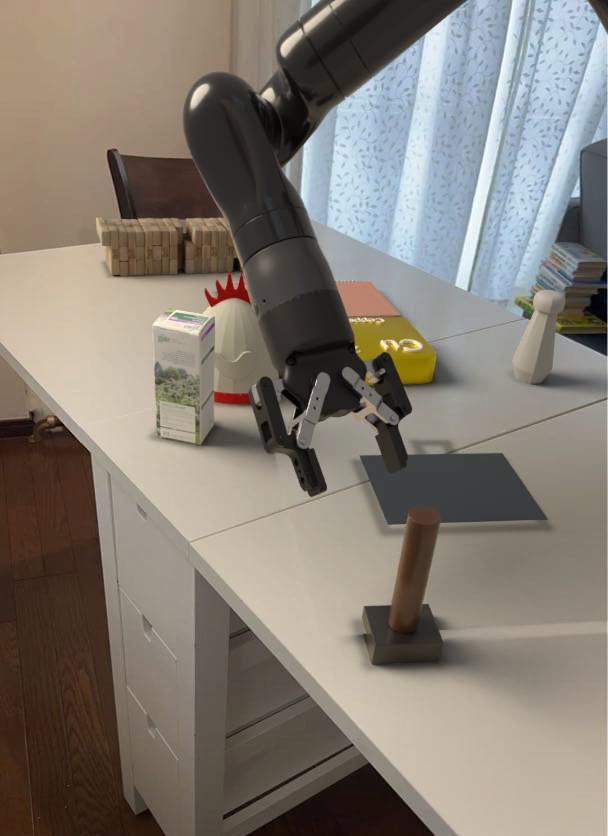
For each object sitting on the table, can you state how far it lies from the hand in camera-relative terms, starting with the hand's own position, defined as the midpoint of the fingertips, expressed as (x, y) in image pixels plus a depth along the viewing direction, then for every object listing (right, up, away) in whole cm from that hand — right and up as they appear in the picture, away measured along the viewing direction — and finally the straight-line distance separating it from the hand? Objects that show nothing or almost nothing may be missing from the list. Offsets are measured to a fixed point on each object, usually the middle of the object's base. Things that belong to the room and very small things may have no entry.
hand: (360, 482), depth 69 cm
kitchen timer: (-15, +17, +41) cm, 47 cm away
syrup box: (-19, +8, +29) cm, 36 cm away
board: (+12, 0, +22) cm, 25 cm away
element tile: (+5, +21, +50) cm, 54 cm away
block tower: (-27, +45, +77) cm, 93 cm away
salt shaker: (+28, +19, +50) cm, 60 cm away
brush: (+4, -14, +2) cm, 15 cm away
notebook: (-4, +34, +66) cm, 74 cm away
